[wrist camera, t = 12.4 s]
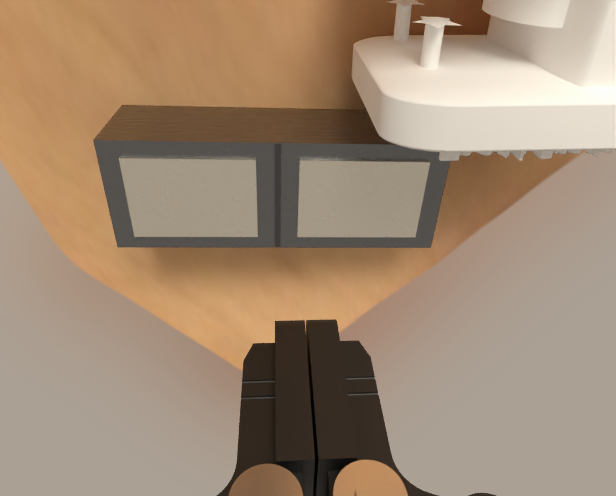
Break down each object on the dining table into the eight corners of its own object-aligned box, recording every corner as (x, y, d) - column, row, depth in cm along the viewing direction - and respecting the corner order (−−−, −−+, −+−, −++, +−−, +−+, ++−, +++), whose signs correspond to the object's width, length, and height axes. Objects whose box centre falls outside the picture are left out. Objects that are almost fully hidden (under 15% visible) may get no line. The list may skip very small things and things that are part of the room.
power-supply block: (122, 105, 26) (91, 141, 22) (426, 111, 27) (454, 147, 23) (139, 201, 30) (116, 249, 25) (409, 203, 31) (431, 249, 26)
